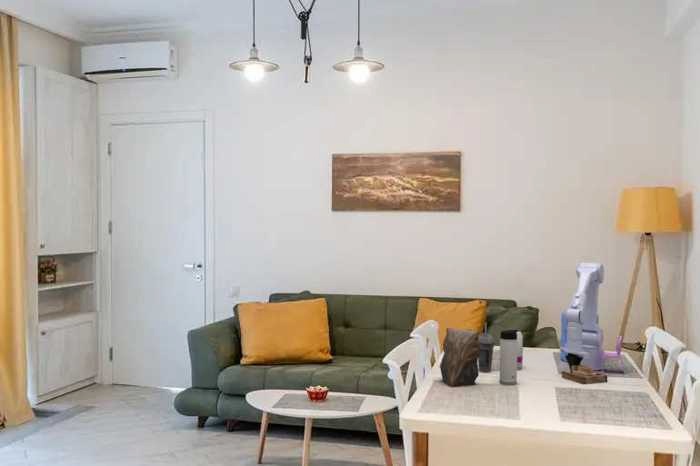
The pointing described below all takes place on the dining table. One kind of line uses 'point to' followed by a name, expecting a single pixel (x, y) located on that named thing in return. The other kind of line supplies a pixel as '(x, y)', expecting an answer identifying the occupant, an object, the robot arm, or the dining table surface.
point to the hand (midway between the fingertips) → (573, 373)
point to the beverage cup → (485, 351)
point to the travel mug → (508, 357)
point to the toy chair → (614, 355)
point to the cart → (583, 370)
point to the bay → (585, 378)
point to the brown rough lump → (460, 357)
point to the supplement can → (519, 350)
